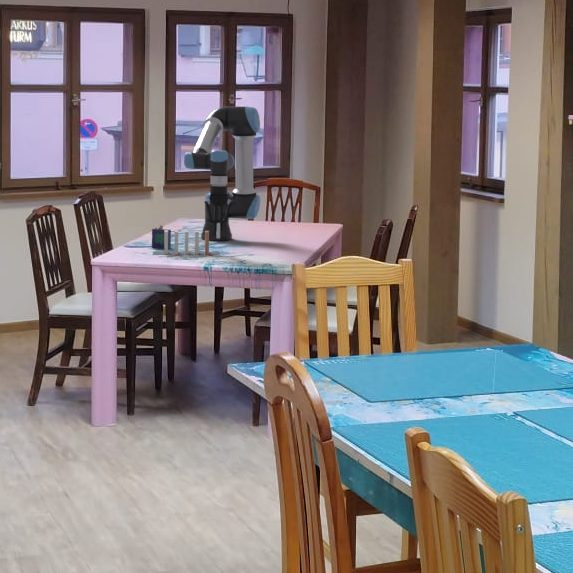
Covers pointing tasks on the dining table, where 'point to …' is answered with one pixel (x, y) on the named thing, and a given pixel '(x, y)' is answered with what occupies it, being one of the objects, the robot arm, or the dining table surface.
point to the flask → (160, 237)
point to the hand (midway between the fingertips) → (218, 238)
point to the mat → (188, 253)
